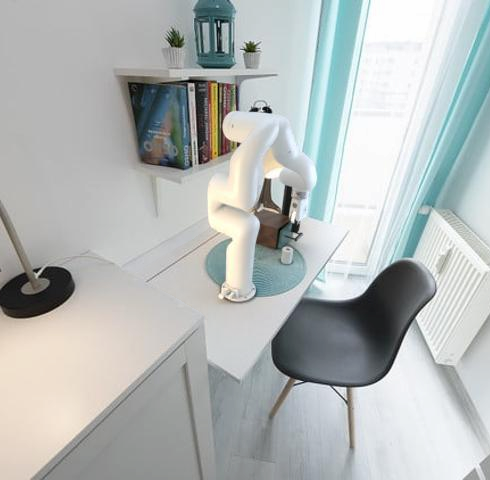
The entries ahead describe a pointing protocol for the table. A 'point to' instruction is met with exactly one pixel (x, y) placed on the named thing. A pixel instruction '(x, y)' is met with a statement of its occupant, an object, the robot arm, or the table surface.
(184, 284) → the table surface
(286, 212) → the black square column
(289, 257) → the paper towel roll
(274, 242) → the cabinet
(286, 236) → the drawer
